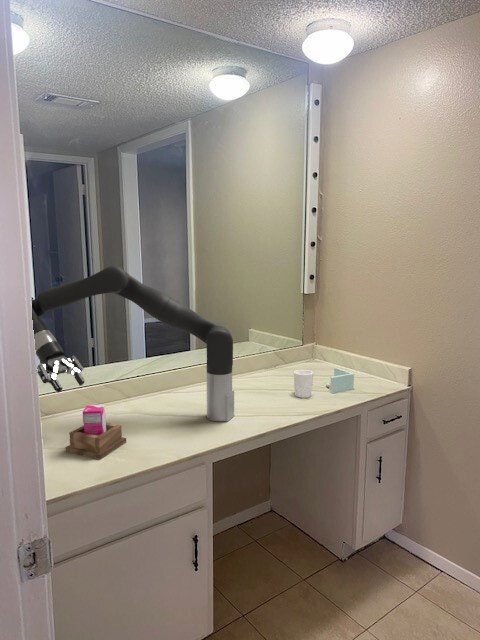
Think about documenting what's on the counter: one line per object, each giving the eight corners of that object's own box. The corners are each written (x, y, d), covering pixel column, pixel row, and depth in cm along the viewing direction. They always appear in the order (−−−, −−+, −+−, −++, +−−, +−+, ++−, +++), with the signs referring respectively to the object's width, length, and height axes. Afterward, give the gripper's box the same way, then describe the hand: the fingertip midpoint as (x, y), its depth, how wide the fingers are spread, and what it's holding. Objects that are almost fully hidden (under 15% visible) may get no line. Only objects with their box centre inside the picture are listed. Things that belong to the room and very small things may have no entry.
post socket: (126, 442, 155) (125, 424, 154) (100, 459, 143) (99, 440, 142) (93, 436, 160) (92, 418, 159) (65, 452, 148) (64, 433, 147)
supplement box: (88, 439, 154) (86, 404, 152) (107, 438, 155) (105, 404, 153) (84, 446, 148) (82, 411, 147) (103, 446, 149) (102, 410, 147)
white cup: (291, 397, 200) (291, 373, 199) (296, 391, 208) (296, 368, 206) (309, 399, 197) (310, 375, 196) (314, 393, 205) (315, 370, 203)
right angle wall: (335, 383, 221) (335, 367, 220) (353, 390, 211) (354, 373, 210) (314, 387, 216) (314, 370, 214) (331, 394, 205) (332, 377, 204)
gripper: (31, 344, 150) (58, 386, 146) (69, 336, 162) (94, 375, 158) (22, 358, 154) (47, 400, 150) (59, 350, 166) (84, 388, 162)
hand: (71, 387), depth 154 cm, fingers open, 8 cm apart
